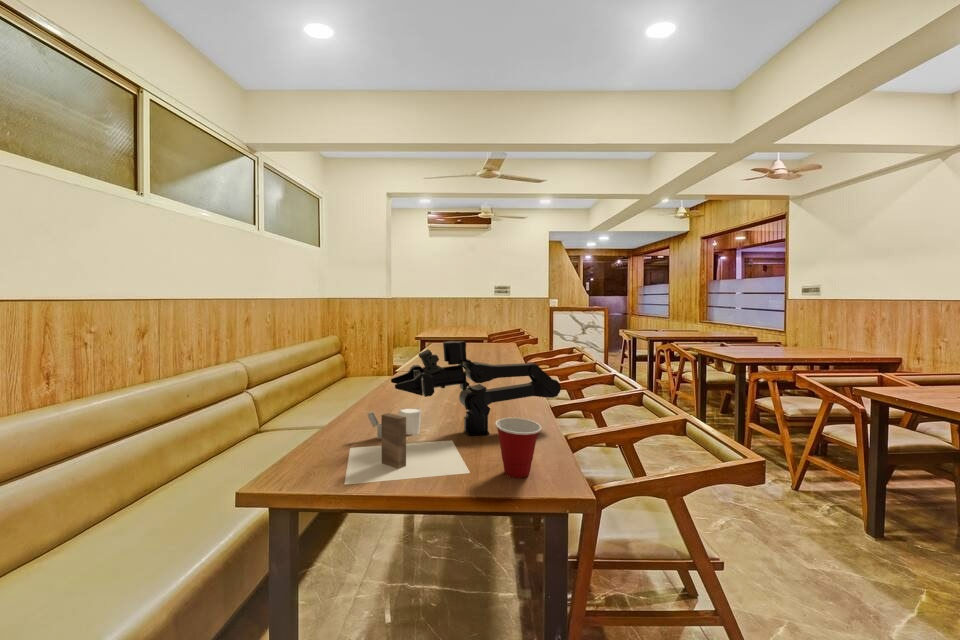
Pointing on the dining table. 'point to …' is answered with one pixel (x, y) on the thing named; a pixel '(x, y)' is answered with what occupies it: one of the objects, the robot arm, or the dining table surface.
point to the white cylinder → (411, 420)
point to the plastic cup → (517, 444)
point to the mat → (419, 463)
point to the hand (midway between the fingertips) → (392, 383)
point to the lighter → (375, 424)
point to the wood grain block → (394, 440)
